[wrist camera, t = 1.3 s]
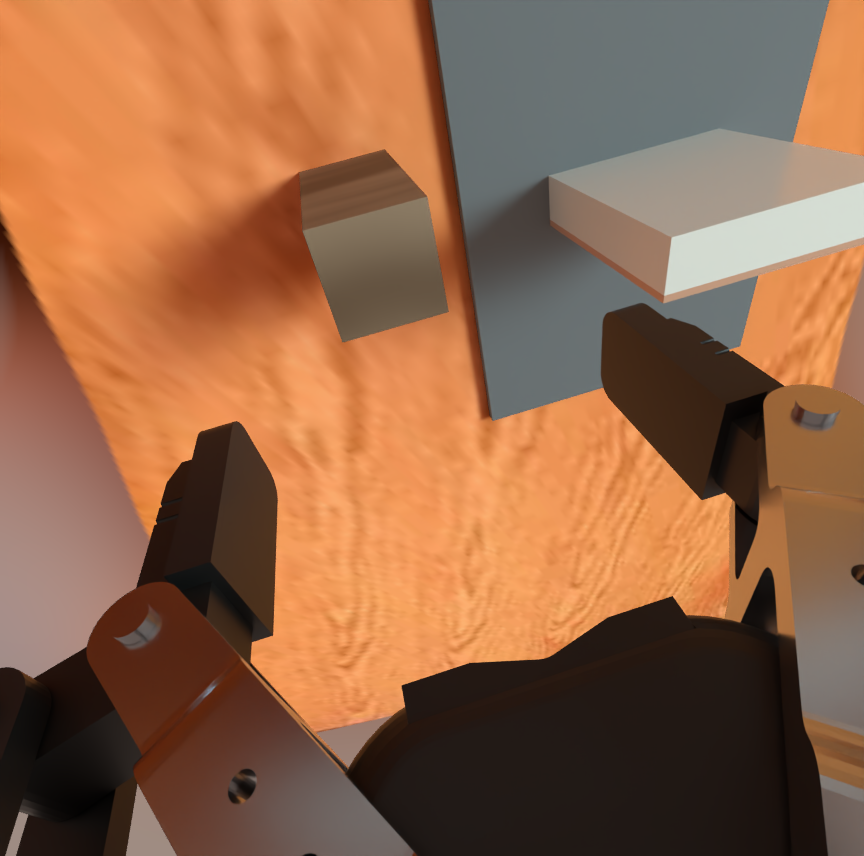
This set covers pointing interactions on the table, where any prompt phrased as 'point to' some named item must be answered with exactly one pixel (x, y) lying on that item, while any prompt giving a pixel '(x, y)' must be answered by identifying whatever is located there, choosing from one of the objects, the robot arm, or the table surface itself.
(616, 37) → the mat
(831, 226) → the tile
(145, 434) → the table surface
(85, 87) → the table surface
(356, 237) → the block
